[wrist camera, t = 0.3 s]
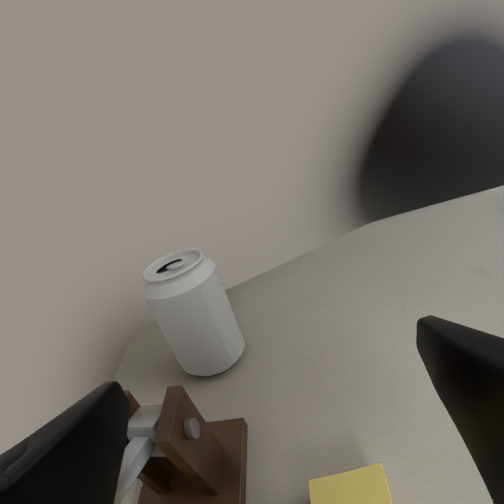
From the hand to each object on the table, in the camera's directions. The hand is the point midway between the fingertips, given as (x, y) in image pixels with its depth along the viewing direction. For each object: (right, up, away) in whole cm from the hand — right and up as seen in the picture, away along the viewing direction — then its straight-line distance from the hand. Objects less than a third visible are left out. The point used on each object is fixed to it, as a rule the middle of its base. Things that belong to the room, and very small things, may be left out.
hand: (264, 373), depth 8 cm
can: (-4, -8, +25) cm, 27 cm away
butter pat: (+6, -13, +5) cm, 15 cm away
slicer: (-5, -14, +11) cm, 19 cm away
